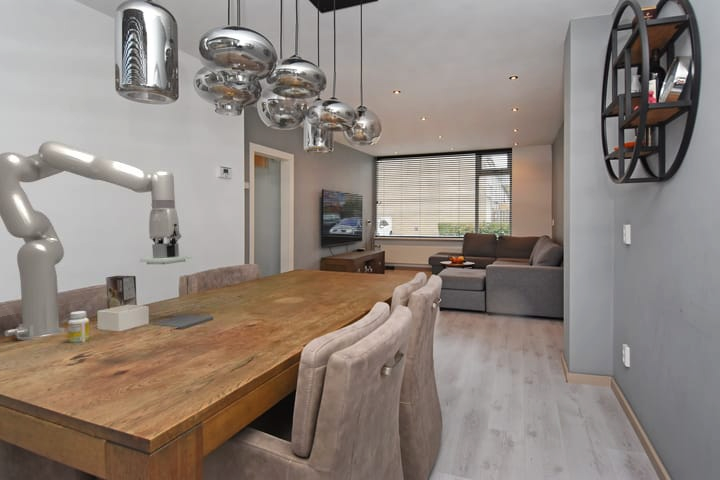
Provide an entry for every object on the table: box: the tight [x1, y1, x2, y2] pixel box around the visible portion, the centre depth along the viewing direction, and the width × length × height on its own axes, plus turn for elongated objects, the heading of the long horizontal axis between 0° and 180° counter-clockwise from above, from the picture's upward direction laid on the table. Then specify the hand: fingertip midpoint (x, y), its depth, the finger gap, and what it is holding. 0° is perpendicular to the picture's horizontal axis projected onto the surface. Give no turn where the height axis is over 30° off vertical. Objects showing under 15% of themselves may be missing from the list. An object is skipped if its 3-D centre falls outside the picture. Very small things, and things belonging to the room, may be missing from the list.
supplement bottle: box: [67, 310, 90, 344], centre depth 126 cm, size 5×5×10 cm
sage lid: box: [139, 242, 192, 265], centre depth 149 cm, size 13×11×7 cm
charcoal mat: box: [150, 313, 214, 331], centre depth 152 cm, size 16×14×1 cm
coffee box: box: [105, 275, 138, 309], centre depth 164 cm, size 9×6×16 cm
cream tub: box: [96, 304, 150, 332], centre depth 144 cm, size 12×10×7 cm
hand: (166, 255), depth 149 cm, fingers closed on sage lid, 4 cm apart
